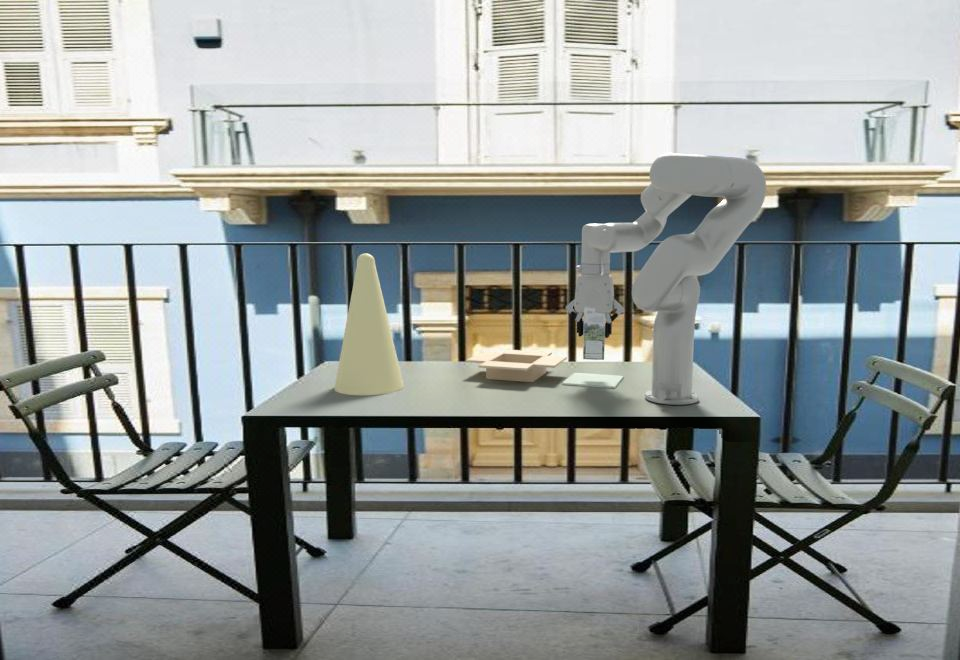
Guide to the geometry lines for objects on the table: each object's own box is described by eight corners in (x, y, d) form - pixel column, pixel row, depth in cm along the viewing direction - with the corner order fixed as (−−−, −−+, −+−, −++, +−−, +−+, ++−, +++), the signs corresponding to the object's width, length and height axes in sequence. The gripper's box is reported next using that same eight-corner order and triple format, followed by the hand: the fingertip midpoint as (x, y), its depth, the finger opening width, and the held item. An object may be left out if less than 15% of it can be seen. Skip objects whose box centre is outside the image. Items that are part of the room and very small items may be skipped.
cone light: (404, 393, 179) (401, 256, 174) (331, 396, 177) (326, 257, 172) (402, 374, 203) (399, 252, 198) (338, 376, 201) (333, 253, 196)
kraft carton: (548, 388, 183) (548, 369, 183) (458, 381, 192) (457, 363, 192) (571, 369, 207) (571, 353, 206) (489, 364, 216) (489, 348, 215)
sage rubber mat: (614, 388, 183) (614, 386, 183) (562, 384, 188) (562, 382, 188) (623, 377, 196) (623, 375, 196) (574, 374, 201) (574, 372, 201)
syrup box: (603, 356, 194) (604, 304, 192) (604, 360, 188) (605, 306, 186) (582, 355, 195) (583, 303, 192) (582, 359, 189) (583, 306, 187)
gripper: (560, 270, 187) (559, 336, 190) (625, 272, 181) (623, 340, 184) (567, 268, 194) (566, 332, 197) (630, 270, 188) (628, 336, 191)
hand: (593, 335), depth 190 cm, fingers closed on syrup box, 6 cm apart
